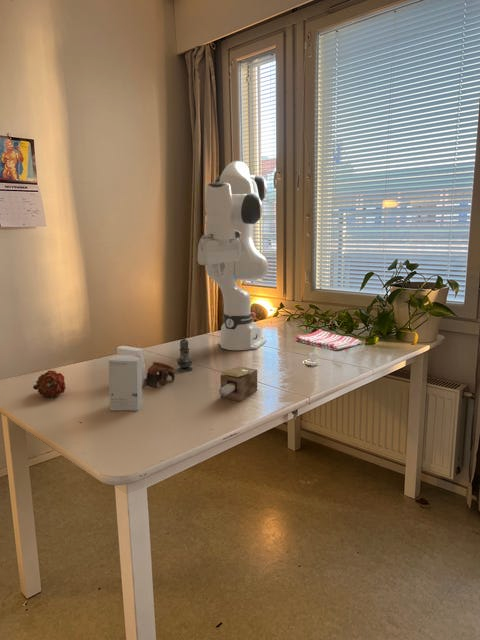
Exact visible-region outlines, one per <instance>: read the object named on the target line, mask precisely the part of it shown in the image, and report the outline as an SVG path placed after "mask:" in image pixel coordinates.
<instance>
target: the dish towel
mask: <svg viewBox="0 0 480 640" xmlns="http://www.w3.org/2000/svg"><path fill="white" fill-rule="evenodd" d="M295 339H296V342H299V343H303V344H306V345H311V346H315V347H320V348H321V349H327V350H330V351H341V350H345V349H348V348H352V347H356V346H359V345H361V344H362V341H361V340H360V339H358V338H357V339H356V338H355V337H352V336H347V335H346V336H344V335H343V336H342V335H338V334H333V333H331V332H328V331H326V330H323V329H321V328H319V329H317V330H316V331H314V332H312V333H310V334H309V333H308V334H305V335H303V334H301V335H296V336H295ZM358 344H359V345H358Z"/></svg>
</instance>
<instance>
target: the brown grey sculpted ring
mask: <svg viewBox="0 0 480 640" xmlns="http://www.w3.org/2000/svg"><path fill="white" fill-rule="evenodd" d="M174 370H175V368H174V367H173V366H171V365H169V364H165V363H163V362H156V361H153V362H152V364H151V365H150V366H149V367H148V369H147V371H146V378H145V385H144V386H147V387H149V388H154V389H157V388H158V387H157V386H158V385H159V386H166V384H167V381H168V378H169V377H171V382H174V381H175V373H174Z"/></svg>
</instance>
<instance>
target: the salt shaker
mask: <svg viewBox="0 0 480 640" xmlns="http://www.w3.org/2000/svg"><path fill="white" fill-rule="evenodd" d="M182 338H183V339H180V341H179V347H180V348H179V349H178V351H179V355H180V356H179V357H178V358H177V359H176V362H177V363H176V364H177V366H178V368H177V371H178V372H182V373H183V372H184V373H185V372H186V373H187V372H191V371H193V368H192V367H191V365H192V364H193V361H194V359H193V358H192V357H190V348H189V341H188V340H187V339H186V337H185V336H184V337H182Z"/></svg>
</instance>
